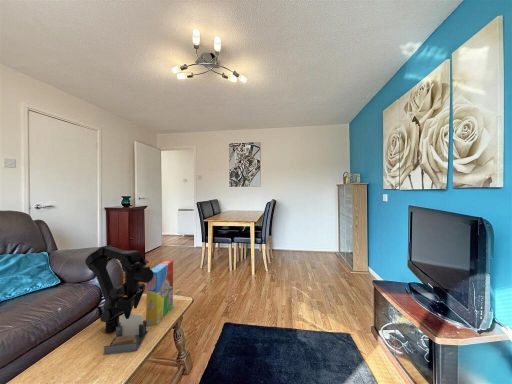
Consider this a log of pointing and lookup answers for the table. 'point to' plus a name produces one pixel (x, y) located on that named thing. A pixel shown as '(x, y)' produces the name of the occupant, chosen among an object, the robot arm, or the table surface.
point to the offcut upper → (124, 340)
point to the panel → (131, 324)
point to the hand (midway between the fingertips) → (131, 313)
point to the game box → (159, 293)
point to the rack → (127, 347)
